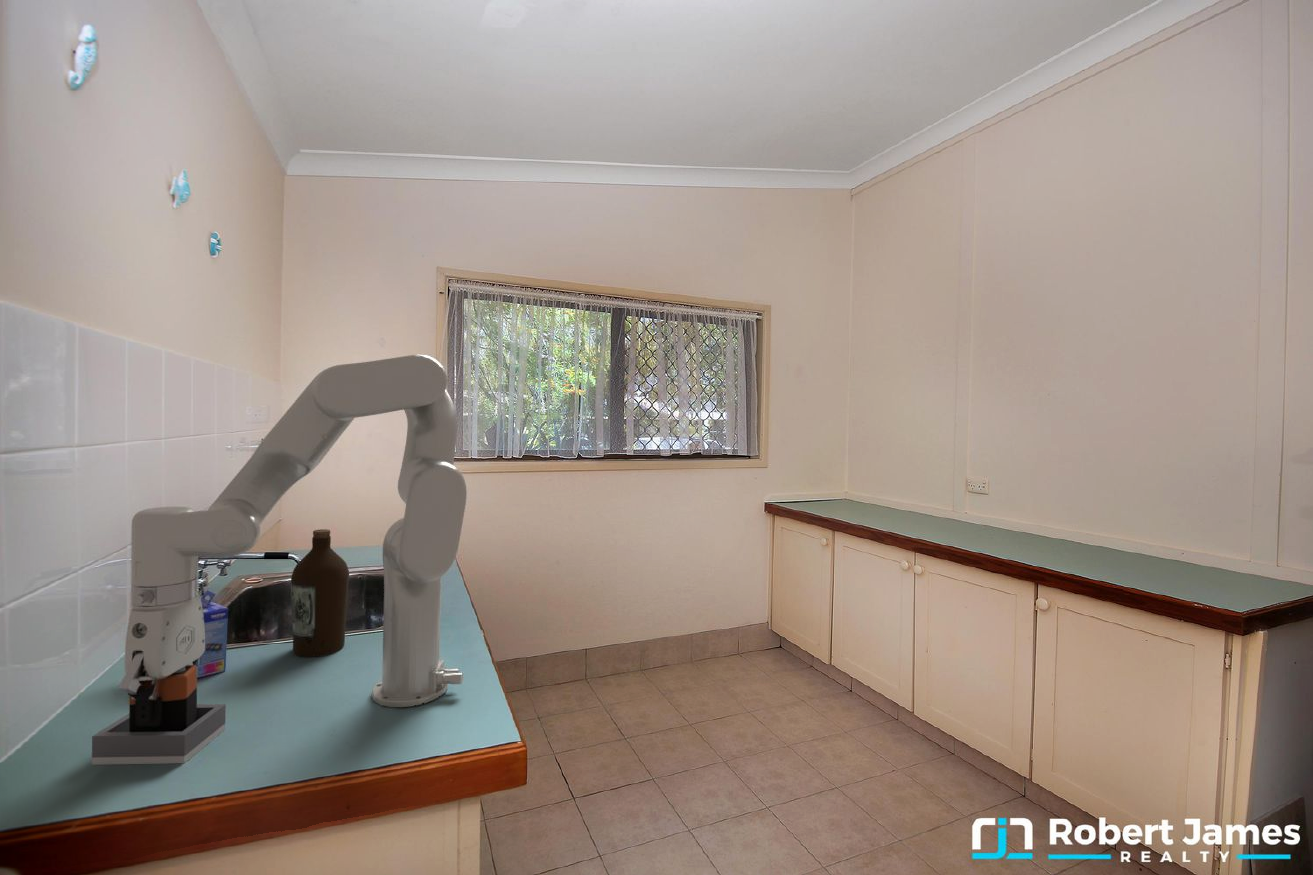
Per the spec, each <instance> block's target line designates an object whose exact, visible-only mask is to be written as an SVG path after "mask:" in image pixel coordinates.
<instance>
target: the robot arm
mask: <svg viewBox="0 0 1313 875" xmlns="http://www.w3.org/2000/svg"><path fill="white" fill-rule="evenodd" d="M447 386H448V376H447V372H446V370H445V368H444V366H443V365H442V364H441V363H440V361H438V360H437V359H436V358H433V357H431V356H429V355H427V354H426V355H425V354H411V355H404V356H399V357H398V356H397V357H391V358H384V359H379V360H370V361H361V362H355V363H344V364H336V365H333V366H330V367H327V368H326V369H323V370H321V372H319V373H318V374H317V375H316V376H315V377H314V378H313V379H312V380H311V382H310V383H308V385H307V386H306V387H305V389H304V390H303V391H302V392H301V393H300V394H299V396H298V397H297V398H296V400H295V401H294V402H293V403H292V405H291V406H290V407H289V408H288V409H287V411H285V413H284V414H283V415H282V416H281V418H280V419H279V420H278V421H277V422H276V423H275V425H274V426H273V427H272V429H270V430H269V432H268V433H267V435H265V436H264V438H263V439H262V441H261V442H260V443H259V445H258V446H257V447H256V449H255V451H254V452H253V454H252V455H251V456H250V458H249V459H248V460H247V462H246V463H245V464H244V465H243V467H242V468H241V469H240V470H239V471H238V473H237V474H236V475H235V476H234V477H233V478H232V479H231V481H229V483H228V484H227V486H226V487H225V488H224V489H223V491H222V492H221V493H220V494H219V495H218V497H217V498H216V499H215V501H213V503H211V505H210V506H209V508H208V509H207V510H199V511H198V510H197V511H196V510H195V509H194V508H191V507H186V506H160V507H159V506H157V507H152V508H146V509H143V510H139V511H138V512H136V513H135V514H134V515H133V517H132V519H131V534H130V535H131V540H130V541H131V545H130V546H131V549H130V550H131V551H130V553H131V555H130V556H131V560H130V561H131V566H130V568H131V570H130V571H131V572H130V574H131V575H130V583H131V584H130V586H131V587H130V607H131V610H130V612H129V615H128V616H129V618H128V623H127V628H126V636H125V644H124V645H125V646H124V672H125V675H124V676H123V678H122V680H121V682H120V683H119V686H118V687H119V690H120V691H121V692H124V693H126V694H127V695H128V696H129V695H130V696H131V697H132V700H135V725H136V726H158V725H160V724H161V723H162V697H158V696H159V691H160V687H161V682H162V679H164V678H166V677H168V676H170V675H172V674H173V673H175V672H177V671H178V670H180V669H182V668H183V667H185V666H187V665H195V663H196V661H197V659H198V658H199V657H200V656H201V655H202V654H203V653H204V651H205V627H204V615H203V608H202V603H201V597H200V596H201V595H200V594H199V557H208V558H209V557H211V558H229V557H230V558H231V557H236V556H239V555H242V554H245V553H246V552H248V551H249V550H250V549H252V548H253V547H254V546H255V544H256V543H257V542H258V540H259V537H260V534H261V524H262V523H263V522H264V520H265V518H267V516H268V515H269V514H270V512H271V511H272V510H273V508H275V506H276V505H277V504H278V502H279V501H280V500H281V499H282V498H283V496H284V495H286V493H287V492H288V491H289V490H290V489H291V488H292V487H293V486H294V485H295V484H296V483H298V481H300V480H301V479H303V478H305V477H306V476H308V475H309V474H310V473H311V472H312V471H314V470H315V469H316V467H318V466H319V464H320V463H321V462H322V460H323V459H324V458H325V456H326V455H327V454H328V452H330V450H331V449H332V447H333V446H334V444H336V442H337V441H338V440H339V438H340V437H341V436H342V435H343V433H344V432H345V431H346V430H347V429H348V427H349V426H350V425H351V424H352V422H353V421H354V419H355V418H357V419H358V418H363V417H369V416H376V415H381V414H387V413H393V412H399V411H404V413H405V415H406V422H407V423H406V424H407V428H406V429H407V431H406V439H405V440H406V441H405V446H404V453H403V456H402V462H401V466H400V467H401V468H400V472H399V476H398V481H397V491H398V495H399V497H400V499H401V500H402V501H403V502H404V504H405V510H404V515H403V517H402V518H400V519H398V520H397V521H395V522H394V523H393V524H392V525H391V526H390V527H389V528H388V530H387V531H386V533H385V535H384V537H383V538H384V539H383V543H382V567H383V585H384V586H383V589H384V590H383V592H384V593H383V596H384V597H383V623H382V624H383V630H382V632H383V633H382V670H381V671H382V673H381V674H382V675H381V676H382V677H381V680H380V681H378V682H377V683H376V684H375V685H374V686H373V687H372V689H371V698H372V700H373V701H374V702H375V703H376V704H378V705H381V706H383V707H384V706H385V707H389V708H409V707H410V708H411V707H416V706H420V705H423V704H422V703H424V704H427V703H430V702H431V701H434V700H437V699H438V698H440V697H441V696H443V694H445V692H446V691H447V690H446V689H448V685H462V684H463V680H464V673H462V672H460V669H459V668H447V667H444V666H445V660H444V659H441V660H440V653H441V652H440V650H441V649H440V648H441V644H440V643H441V615H442V614H441V612H442V607H441V606H442V577H443V576H445V575H446V574H447V573H448V572H449V571H450V569H451V568H452V566H453V565H454V562H455V560H456V558H457V554H458V549H459V544H460V538H461V534H462V527H463V524H464V523H463V522H464V516H465V512H466V510H465V509H466V504H467V493H468V492H467V484H466V480H465V478H464V475H463V473H462V472H461V471H460V469H459V468H457V467H456V466H455V465H454V461H455V454H456V447H457V439H458V438H457V437H458V426H459V424H458V415H457V414H458V413H457V411H456V407H455V405H454V402H453V400H452V398H451V396H450V394H449V392H448V390H447ZM146 673H148V675H145V674H146ZM145 681H152V684H151V688H148V687H147V686H146V685H144V684H145ZM439 696H440V697H439ZM415 705H416V706H415Z"/></svg>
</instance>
